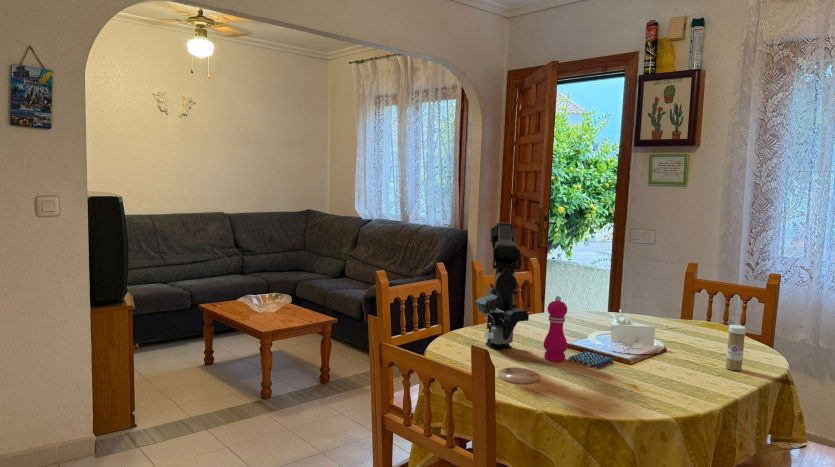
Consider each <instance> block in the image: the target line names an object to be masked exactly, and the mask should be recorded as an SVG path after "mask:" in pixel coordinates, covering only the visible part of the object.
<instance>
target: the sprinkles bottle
mask: <svg viewBox="0 0 835 467" xmlns="http://www.w3.org/2000/svg"><path fill="white" fill-rule="evenodd" d="M746 333H747V328H746V326H743V325H739V324H730V325H728V340H727V349H726V362H725V367H726V368H727V370H728V369H730V370H729V371H732V370H741V371H743V369H742V366H743V358H744V350H745V348H744V347H745V338H746V337H745V336H746Z"/></svg>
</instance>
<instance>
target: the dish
mask: <svg viewBox="0 0 835 467" xmlns="http://www.w3.org/2000/svg"><path fill="white" fill-rule="evenodd" d="M619 313H620V314H619V315H620V317H618V316H617V315H616V314H614V312H612V313H611V316H612V317H613V319H612V322H611V324H610V330H600V331H594V332H592V333H589V334H588V337H587V341H588V340H590V341H591V342H593V343H595V344H599V345H600V344H602V343H600V342H598V341H597V340H596V339H595V338H596V337H597V336H602V335H607V336H611V337H610V343H623V344H619V346H621V347H624V348H629V347H630V346H632V347H634V348H645V346H647V345H652V346H656V347H659V348H661V349H664V350H665V344H664V343H663V342H662V341H661V340H659V339H656V338H655V337H656V336H655V334H656V326H653V325H649V324H644V323H639V322H635V321H631V319H629V318H628V317H626V316H624V315H623V312H622V311H621V309H619ZM624 344H625V345H624ZM602 345H604V344H602ZM608 347H611V346H608ZM661 349H660V350H661ZM658 351H659V350H658Z"/></svg>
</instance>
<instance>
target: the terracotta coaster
mask: <svg viewBox="0 0 835 467" xmlns="http://www.w3.org/2000/svg"><path fill="white" fill-rule="evenodd" d="M498 378H500V379H501V380H503V381H505V382H508V383H512V384H520V385H526V384H533V383H536V382H537V381H538V379H539V374H538V373H537V372H535V371H533V370H530V369H528V368H522V367H505V368H502V369H500V370H499V371H498Z"/></svg>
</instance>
